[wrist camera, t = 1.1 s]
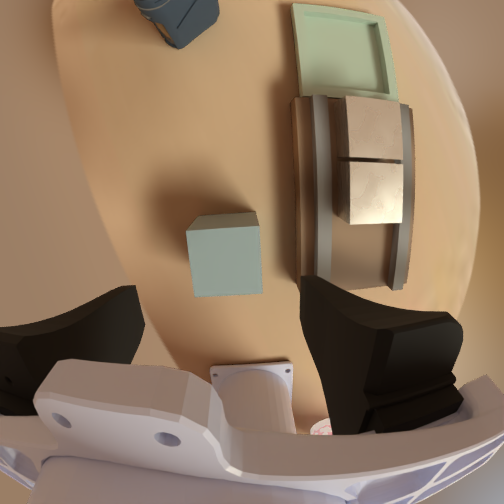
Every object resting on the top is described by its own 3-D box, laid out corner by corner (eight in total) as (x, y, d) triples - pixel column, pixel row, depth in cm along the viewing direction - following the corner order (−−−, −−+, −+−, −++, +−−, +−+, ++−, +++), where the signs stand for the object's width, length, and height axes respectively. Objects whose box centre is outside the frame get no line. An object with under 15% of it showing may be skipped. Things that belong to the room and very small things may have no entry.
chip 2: (385, 215, 20) (401, 222, 17) (337, 217, 20) (349, 224, 17) (386, 163, 19) (403, 164, 16) (337, 161, 18) (349, 161, 16)
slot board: (396, 274, 24) (412, 288, 21) (296, 284, 23) (303, 300, 21) (399, 111, 19) (418, 107, 16) (290, 103, 19) (297, 94, 16)
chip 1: (386, 159, 18) (403, 159, 16) (336, 157, 18) (349, 156, 16) (383, 107, 17) (399, 102, 15) (333, 102, 17) (345, 95, 15)
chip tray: (392, 107, 19) (399, 105, 18) (299, 99, 19) (302, 95, 18) (378, 22, 16) (384, 17, 15) (290, 9, 16) (292, 3, 15)
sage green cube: (258, 266, 23) (262, 293, 18) (204, 269, 23) (194, 297, 18) (255, 211, 22) (259, 225, 17) (198, 215, 21) (185, 230, 17)
